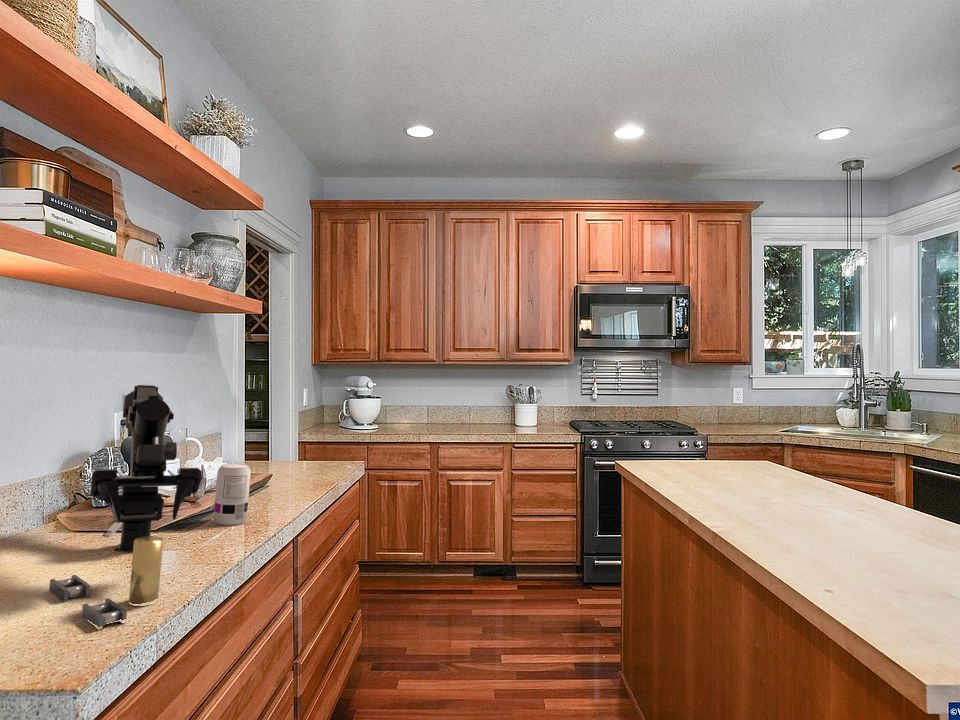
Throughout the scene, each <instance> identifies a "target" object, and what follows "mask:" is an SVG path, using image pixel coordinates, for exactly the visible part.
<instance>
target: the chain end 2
mask: <svg viewBox="0 0 960 720" xmlns="http://www.w3.org/2000/svg"><path fill="white" fill-rule="evenodd" d="M81 608H82V609H81V617H82V618H83V617H84V618H85V619H87V620H89V621H90V622H92V623H93V624H95V625H97V626H98V627H101V626H103V625H104V624H107V623H110V622H114V621H117V620H120V619H121V620H124V619H126V620H127V616H128V615H127V613H128V611H127V610H126V609H124V608H123V607H122V606H120V605H119V604H117V603H116V602H115V601H113V600H112V599H111V598H105V599H104V602H102V603H98V604H94V605H89V603H83V604H82V607H81ZM84 618H83V619H84ZM85 619H84V620H85ZM104 626H105V625H104ZM104 626H103V627H104Z"/></svg>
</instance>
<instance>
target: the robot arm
mask: <svg viewBox="0 0 960 720" xmlns="http://www.w3.org/2000/svg"><path fill="white" fill-rule="evenodd" d="M122 409H123V410H122V418H125V423H124V425H125V428H126V430H128V432H130V434H131V451H130V452H131V456H130V474H129V475H118V469H117V468H113V469H111V468H107V469H106V468H105V469H102V468H101V469H95V470H94V471H93V472H92V474H91V483H90V484H91V485H90V495H89V496H90V497H92V498H97V499H98V501H103V502H104V503H105V504H106V505H107V507H108V508H109V509H110V511H111V513H112V515H113V516H114V518H115V522H116V523H120V522H122V525H121V536H120V543H119V544H118V545H117V546H115V547H114V548H113V549H114V551H115V552H116V551H117V552H118V551H119V552H133V547H134V540H135V539H137V538H140V537H146V536H151V531H152V530H151V529H152V521H153V522H154V521H156V522H159V521H160V520H161V519H163V518H162V517H163V510H164V504H165V500H164V498H163V496H162V493H159V487H175V489H176V490H175V493H174V500H173V506H172V507H173V509H172V520H176V518H177V516H178V513H179V510H180V507H181V505H182V504H183V502H184V500H185V499H186V498H189V497H191V496H192V495H193V494H197V493H198V492H199V488H200V485H201V482H202V478H203V477H202V470H201V469H200V468H199V467H179V469H178V473H177V474H175V475H173V474H171V475H165V472H166V471H167V461H175V460H176V459H177V455H178V454H177V451H178V449H177V448H178V445H177V444H178V443H177V441H176V442H175V441H174V442H166V443H165V435H164V434H165V433H166V431H167V426H168V425H169V424H170V423H171V420H174V417H175V416H174V415H175V414H174V413H173V412H172V410H171V408H170V407H169V405H168V404H167V402H166V401H165V400H164V397H163V396H162V395H161V394H160V393H159V386H156V385H148V384H138V385H134V387H133V390H132V391H131V392H130V393H127V394H126V395H125V396H124V401H123V408H122ZM164 443H165V444H164ZM119 488H122V490H121V494H120V491H119Z"/></svg>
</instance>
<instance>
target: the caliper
mask: <svg viewBox="0 0 960 720" xmlns="http://www.w3.org/2000/svg"><path fill="white" fill-rule="evenodd" d="M121 527H122V522H120V523H116V521H115V522H113V523H112V524H111V526H110V527H108V529H107V531H106V532H105V534H104V537H107V538H109V537H111V536H112V535H114V534H115V533H116V532H117V531H118V530H119V529H120V528H121Z"/></svg>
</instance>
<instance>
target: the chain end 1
mask: <svg viewBox="0 0 960 720" xmlns="http://www.w3.org/2000/svg"><path fill="white" fill-rule="evenodd" d="M48 591H49V592H50V593H52V595H54V597H56V598H57V599H59V600H60V601H61V602H63V603H66V602H68V601H69V599H71V598H75V597H76V598H77V597H80V596H83V597H85V598H90V594H91V593H90V592H91V585H90V583H87V582H86V581H85V580H83V579H82V578H81V577H79V576H78V575H76V574H72V575H71V577H70V578H65V579H59V580H56V579H55V578H51V579H49V590H48Z"/></svg>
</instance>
